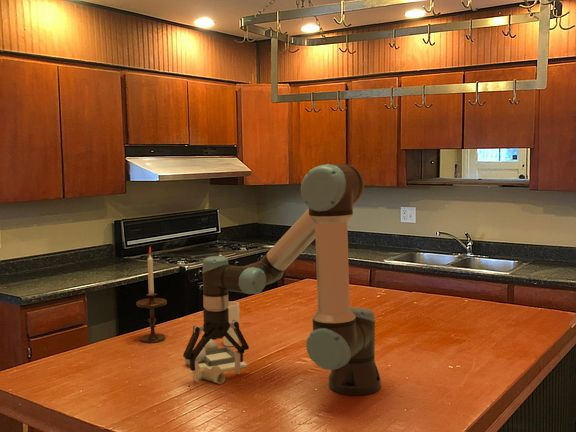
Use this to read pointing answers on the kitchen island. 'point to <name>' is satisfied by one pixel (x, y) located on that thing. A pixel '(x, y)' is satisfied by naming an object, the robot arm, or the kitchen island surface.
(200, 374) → the pipe fitting
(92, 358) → the kitchen island surface
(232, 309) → the drinking glass
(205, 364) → the coupling board
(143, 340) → the candlestick
